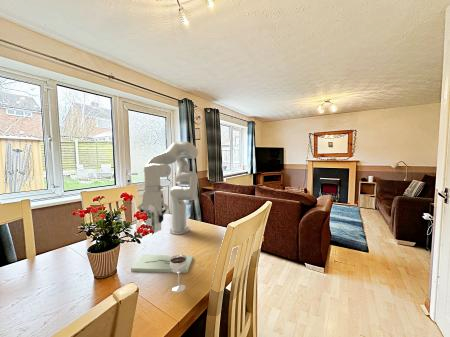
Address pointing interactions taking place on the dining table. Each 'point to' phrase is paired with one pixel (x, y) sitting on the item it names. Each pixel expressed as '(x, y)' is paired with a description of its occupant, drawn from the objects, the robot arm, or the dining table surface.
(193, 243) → the dining table surface
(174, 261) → the wineglass
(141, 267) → the board
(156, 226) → the syrup box
